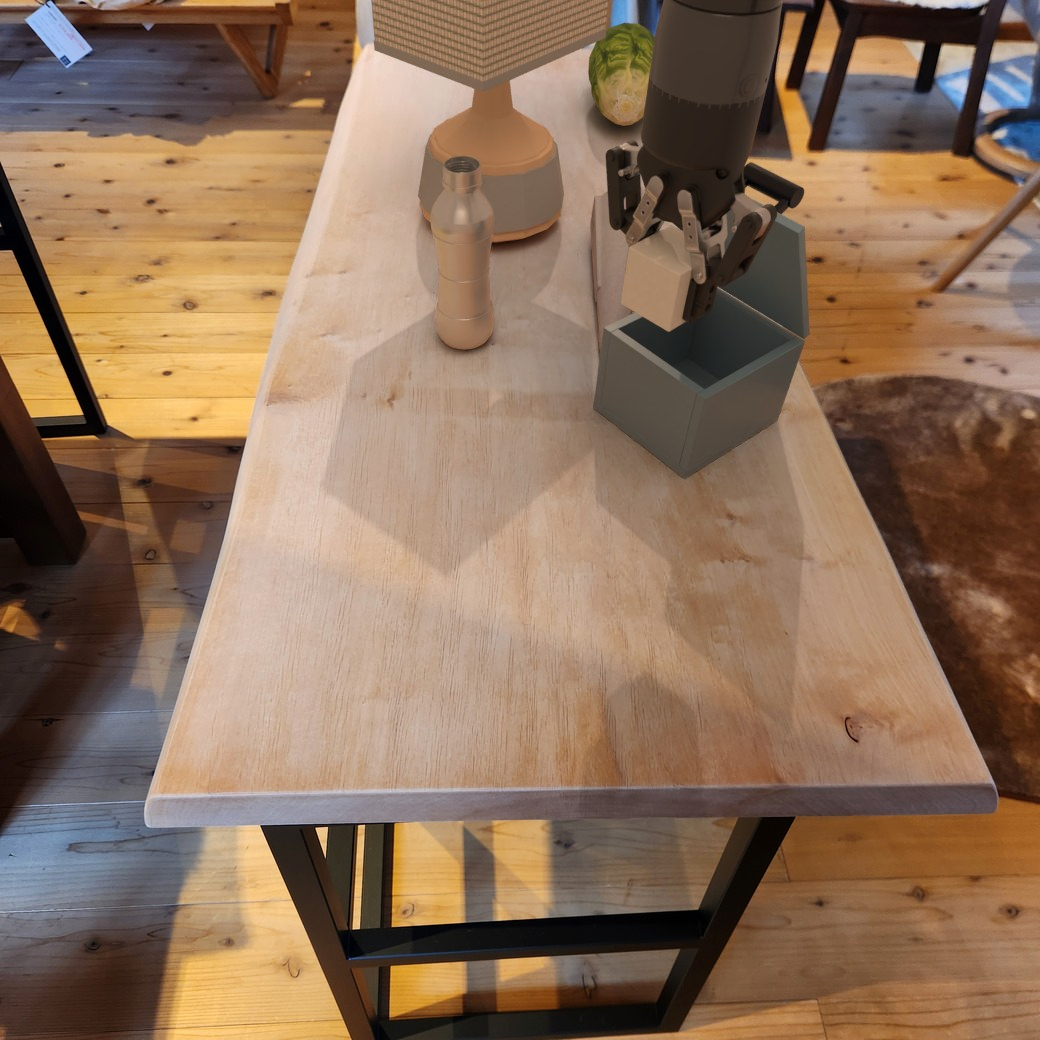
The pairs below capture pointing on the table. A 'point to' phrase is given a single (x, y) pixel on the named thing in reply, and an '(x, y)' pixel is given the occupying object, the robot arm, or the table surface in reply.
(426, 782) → the table surface
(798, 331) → the lid
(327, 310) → the table surface
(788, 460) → the table surface
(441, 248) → the plastic bottle
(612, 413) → the grey box
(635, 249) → the tan cube
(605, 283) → the beige long cone
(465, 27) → the desk lamp
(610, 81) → the lettuce
